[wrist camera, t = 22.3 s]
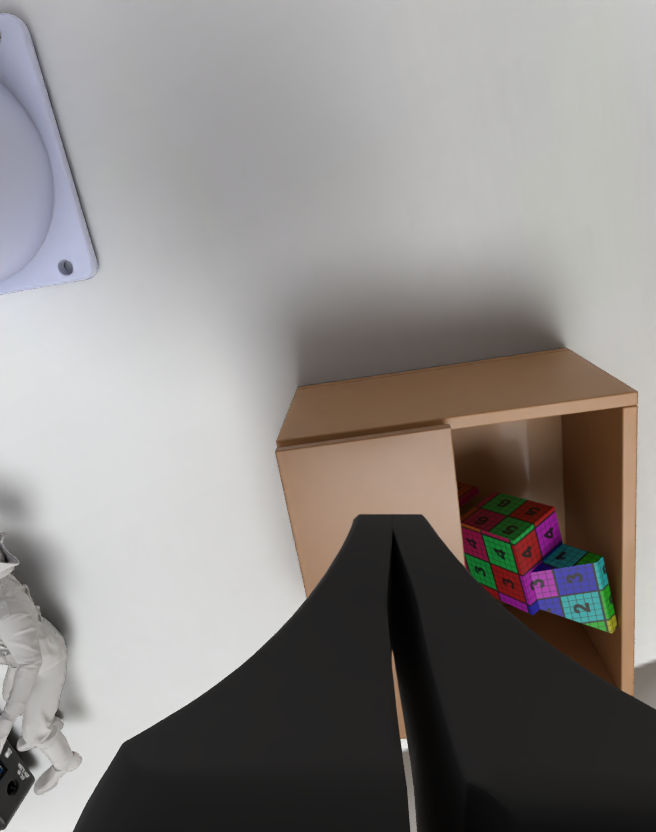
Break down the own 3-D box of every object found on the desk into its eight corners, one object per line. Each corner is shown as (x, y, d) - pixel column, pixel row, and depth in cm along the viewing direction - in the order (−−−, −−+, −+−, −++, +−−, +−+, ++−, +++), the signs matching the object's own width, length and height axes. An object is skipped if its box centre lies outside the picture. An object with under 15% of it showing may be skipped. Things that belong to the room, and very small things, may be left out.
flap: (338, 736, 19) (338, 744, 18) (276, 447, 15) (274, 451, 15) (480, 724, 18) (482, 732, 18) (449, 423, 15) (451, 427, 14)
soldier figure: (-1, 702, 28) (-156, 554, 21) (87, 638, 31) (-25, 485, 23) (52, 832, 23) (-127, 697, 16) (153, 743, 26) (36, 590, 18)
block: (473, 566, 22) (413, 615, 21) (447, 479, 21) (382, 524, 19) (617, 627, 17) (552, 699, 16) (595, 517, 16) (522, 583, 14)
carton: (342, 620, 24) (337, 727, 19) (297, 386, 21) (275, 440, 16) (574, 598, 23) (634, 705, 18) (566, 347, 20) (638, 391, 14)
